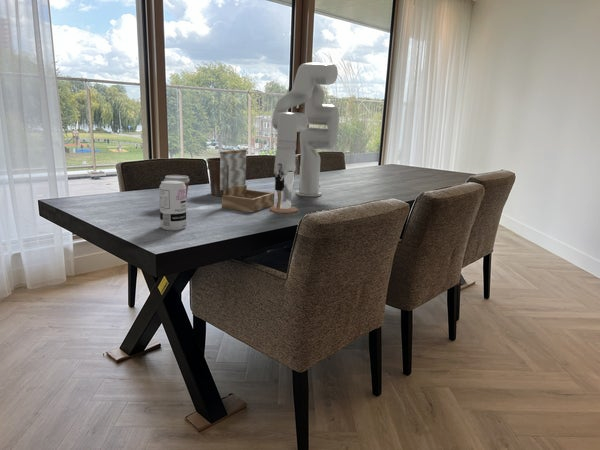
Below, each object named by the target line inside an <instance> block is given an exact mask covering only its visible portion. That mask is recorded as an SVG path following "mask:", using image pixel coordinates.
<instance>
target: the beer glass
mask: <svg viewBox="0 0 600 450" xmlns="http://www.w3.org/2000/svg"><path fill="white" fill-rule="evenodd" d="M294 175H295V174H294V171H293V172H288V174H287V175H284V177H283V180H282V181H283V191H277V190H276V194H277V203H276V205H275V206H276V208H277V209H281V210H289V209H291V208H292V207H293V206H292V196H293V195H292V194H293V191H294V187H295V177H294ZM280 177H281V175H280ZM293 186H294V187H293ZM291 206H292V207H291Z"/></svg>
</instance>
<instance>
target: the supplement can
mask: <svg viewBox="0 0 600 450" xmlns="http://www.w3.org/2000/svg"><path fill="white" fill-rule="evenodd" d="M160 182H161V183H160V185H159V217H160V218H159V220H160V221H159V222H160V227H161V229H163V230H166V231H181V230H184V229H185V227H187V199H186V185H185V184H184V182H183V181H178V180H166V181H164V180H162V181H160Z"/></svg>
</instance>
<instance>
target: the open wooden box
mask: <svg viewBox="0 0 600 450" xmlns="http://www.w3.org/2000/svg"><path fill="white" fill-rule="evenodd" d="M247 152H248V151H247V149H244V148H243V149H242V148H241V149H233V150H222V151H219V158H220V190H224V189H225V190H224V192H223V195H222V196H221V208H223V209H229V210H234V211H235V210H236V211H242V212H247V213H248V212H249V213H254V212H257V211H260V210H263V209H266V208H268V207H269V208H270V207H272V206H275V192H268V191H262V190H255V189H254V190H253V189H247V186H248V185H247V184H246V183H247V182H246V181H247V180H246V178H247V175H246V174H247V173H246V172H247ZM237 186H238V187H237ZM233 187H234V188H233Z"/></svg>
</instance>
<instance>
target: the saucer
mask: <svg viewBox="0 0 600 450" xmlns="http://www.w3.org/2000/svg"><path fill="white" fill-rule="evenodd" d="M276 206H277V205H272V206H269V210H270V212H272V213H277V214H294V213H297V212H298V207H296V206H292V205H291V207H292V208H291V209H289V210H281V209H277V208H276Z"/></svg>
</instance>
